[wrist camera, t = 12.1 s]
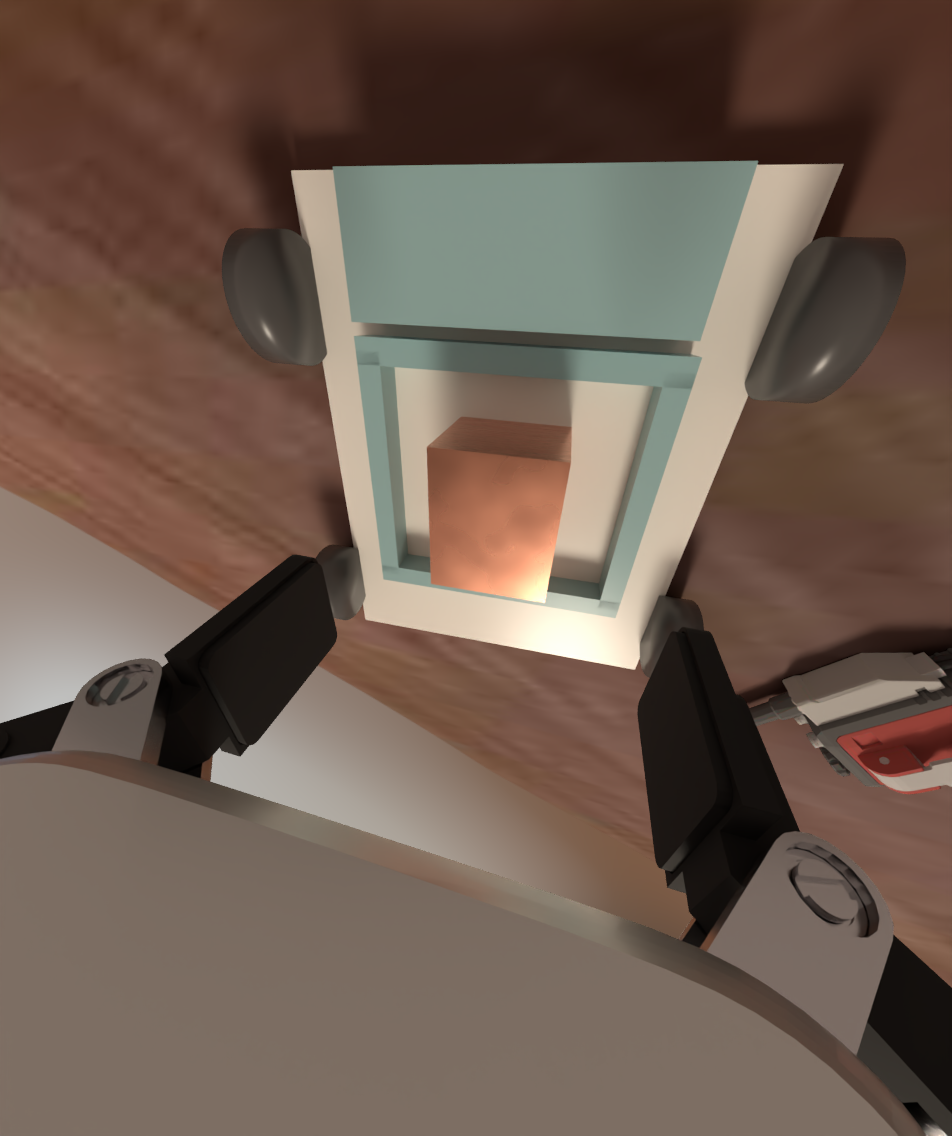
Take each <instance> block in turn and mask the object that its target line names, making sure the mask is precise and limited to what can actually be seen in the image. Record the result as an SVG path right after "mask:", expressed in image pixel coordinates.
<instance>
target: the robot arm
mask: <svg viewBox="0 0 952 1136" xmlns="http://www.w3.org/2000/svg"><path fill="white" fill-rule="evenodd" d="M336 639H337V631H336V626H335V622H334V617H333V613H332V608H331V604H330V599H329V595H328V591H327V586H326V582H325V577H324V573H323V569H322V566H321V565H320V564H318V562H317V560H316V559H315V558H312V557H307V556H301V555H292V556H290V557H289V558H287V559H286V560H285V561H284V562H282V563H281V564H280V565H278V566H277V567H276V568H275V569H273V570H272V571H271V572H270V573H268V574H267V575H266V576H264V577H263V578H262V579H261V580H259V581H258V582H257V583H255V584H254V585H253V586H252V587H250V588H249V589H248V590H246V591H245V592H244V593H243V594H241V595H240V596H239V597H237V598H236V599H235V600H234V601H232V602H231V603H230V604H229V605H227V606H226V607H225V608H223V609H222V610H221V611H220V612H218V613H217V614H216V615H214V616H213V617H212V618H211V619H209V620H208V621H207V622H205V623H204V624H203V625H202V626H200V627H199V628H198V629H196V630H195V631H194V632H193V633H192V634H190V635H189V636H188V637H186V638H185V639H184V640H183V641H181V642H180V643H179V644H177V645H176V646H175V647H174V648H172V649H171V650H170V651H168V652H167V653H166V654H165V657H166V658H167V660H168V663H167V664H166V665H165V666H163V667H161V665H160V664H159V663H158V662H157V661H155V660H152V659H135V660H130V661H126V662H123V663H120V664H117V665H114V666H112V667H110V668H108V669H106V670H104V671H103V672H101V673H99V674H98V675H96V676H95V677H93V678H92V679H91V680H89V681H88V682H87V683H86V684H85V685H84V686H83V687H82V689H81V690H80V691H79V693H78V694H77V696H76V698H75V700H74V701H71V702H68V703H65V704H61V705H58V706H55V707H52V708H48V709H45V710H42V711H39V712H36V713H32V714H29V715H26V716H23V717H20V718H16V719H13V720H10V721H7V722H3V723H0V1136H952V988H951V987H950V986H949V985H948V984H947V983H946V982H945V981H944V980H942V979H941V978H940V977H939V976H938V975H937V974H936V973H935V972H934V971H933V970H932V969H930V968H929V967H928V966H927V965H926V964H925V963H924V962H923V961H922V960H921V959H920V958H918V957H917V956H916V955H915V954H914V953H913V952H912V951H911V950H910V949H909V948H907V947H906V946H905V945H904V944H903V943H902V942H901V941H900V940H899V939H898V938H897V937H895V936H894V935H893V926H894V925H893V922H892V918H891V915H890V912H889V909H888V906H887V904H886V903H885V901H884V899H883V897H882V896H881V894H880V892H879V890H878V889H877V887H876V886H875V885H874V883H873V882H872V881H871V880H870V878H869V877H868V876H867V875H866V874H865V872H864V871H863V870H862V869H861V868H860V867H859V866H858V865H857V864H856V863H855V862H854V861H853V860H851V859H850V858H849V857H848V856H847V855H846V854H845V853H844V852H842V851H841V850H839V849H838V848H836V847H835V846H833V845H832V844H830V843H829V842H827V841H825V840H823V839H821V838H819V837H816V836H814V835H812V834H809V833H803V832H800V831H799V828H798V826H797V823H796V821H795V818H794V816H793V814H792V811H791V809H790V806H789V804H788V802H787V799H786V797H785V794H784V792H783V789H782V787H781V785H780V782H779V780H778V777H777V775H776V773H775V770H774V768H773V765H772V763H771V760H770V758H769V756H768V753H767V751H766V748H765V746H764V744H763V741H762V739H761V736H760V734H759V731H758V729H757V727H756V724H755V722H754V719H753V717H752V715H751V712H750V710H749V707H748V705H747V703H746V702H745V700H744V699H743V698H742V697H741V696H739V695H736V694H735V692H734V689H733V687H732V684H731V682H730V679H729V677H728V674H727V671H726V669H725V666H724V664H723V661H722V659H721V656H720V654H719V651H718V649H717V646H716V643H715V641H714V638H713V636H712V634H711V633H710V632H709V631H704V630H698V629H693V628H687V627H682V628H681V629H680V630H679V631H678V632H676V631H672V632H671V633H670V635H669V637H668V639H667V641H666V643H665V645H664V648H663V650H662V652H661V654H660V657H659V659H658V661H657V663H656V665H655V668H654V670H653V672H652V674H651V677H650V679H649V681H648V683H647V685H646V688H645V690H644V692H643V694H642V697H641V699H640V701H639V705H638V722H639V730H640V738H641V746H642V755H643V763H644V771H645V779H646V787H647V795H648V803H649V812H650V820H651V828H652V836H653V844H654V852H655V859H656V863H657V865H658V867H659V868H661V869H664V870H665V873H666V881H667V888H670V889H674V890H677V891H680V892H683V893H686V895H687V901H688V906H689V912H690V913H691V914H692V916H693V918H692V919H691V921H690V922H689V924H688V925H687V927H686V928H685V930H684V931H683V933H682V934H681V935H680V937H679V938H678V939H676V938H673V937H671V936H669V935H666V934H664V933H661V932H659V931H656V930H654V929H652V928H649V927H646V926H643V925H641V924H638V923H635V922H632V921H629V920H626V919H624V918H621V917H618V916H615V915H612V914H609V913H607V912H604V911H601V910H598V909H595V908H592V907H589V906H587V905H584V904H581V903H578V902H575V901H572V900H570V899H566V898H564V897H561V896H558V895H555V894H552V893H549V892H546V891H543V890H540V889H537V888H534V887H531V886H528V885H525V884H522V883H519V882H516V881H513V880H510V879H507V878H504V877H501V876H498V875H495V874H492V873H489V872H486V871H483V870H480V869H477V868H474V867H471V866H468V865H465V864H462V863H459V862H456V861H453V860H450V859H447V858H444V857H441V856H438V855H435V854H432V853H428V852H426V851H423V850H420V849H416V848H413V847H410V846H407V845H404V844H401V843H398V842H395V841H392V840H389V839H386V838H383V837H380V836H377V835H374V834H370V833H368V832H364V831H361V830H358V829H355V828H352V827H349V826H346V825H343V824H340V823H337V822H334V821H331V820H327V819H325V818H322V817H318V816H315V815H312V814H309V813H306V812H303V811H300V810H297V809H294V808H291V807H288V806H285V805H281V804H278V803H275V802H272V801H269V800H266V799H263V798H260V797H256V796H253V795H250V794H247V793H244V792H241V791H238V790H234V789H231V788H228V787H225V786H222V785H219V784H216V783H213V782H210V780H211V769H212V757H213V754H214V753H215V752H216V751H217V750H218V748H219V747H220V748H221V750H222V751H224V752H228V753H231V754H234V755H237V756H241V755H242V754H243V752H244V751H245V750H246V749H247V747H248V746H249V745H253V744H254V743H256V742H257V741H258V740H259V739H260V738H261V736H262V735H263V734H264V733H265V731H266V730H267V729H268V727H269V726H270V725H271V724H272V722H273V721H274V720H275V719H276V717H277V716H278V715H279V714H280V712H281V711H282V710H283V709H284V707H285V706H286V705H287V704H288V702H289V701H290V700H291V698H292V697H293V696H294V695H295V693H296V692H297V691H298V690H299V688H300V687H301V686H302V685H303V683H304V682H305V681H306V679H307V678H308V677H309V676H310V675H311V673H312V672H313V671H314V669H315V668H316V667H317V666H318V664H319V663H320V662H321V661H322V659H323V658H324V657H325V656H326V654H327V653H328V652H329V651H330V649H331V648H332V647H333V645H334V644H335V642H336Z"/></svg>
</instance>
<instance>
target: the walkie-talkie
mask: <svg viewBox="0 0 952 1136" xmlns="http://www.w3.org/2000/svg"><path fill="white" fill-rule="evenodd" d="M782 682H783V684H784V685H785V687H786V689H787V690H788V692H786V693H784V694H781V695H778V696H775V697H772V698H770V699H769V701H768V702H766V703H763V704H760V705H757V706H755V707H752V708H749V710H750V712H751V715H752V717H753V719H754V722H755V724H756V726H758V725H761V724H764V723H767V722H771V721H774V720H777V719H782V720H786V719H789V718H793V717H794V719H795V720H796V721H797V722H798V724H800V725H801V724H805V723H807V724H809V725H810V727H811V729H812V731H813V732H811V733H807V734H806V735H807V737H808V739H809V740H810V742H811V743H812V744H813V745H814V747H815V748H818V747H819V748H820V750H821V752H822V754H823V755H824V757H825V758H826V760H827V761H828V762H829V764H830V765H831V766H832V768H833V769H834V770H835V771H836V772H837V773H838V774H839V775H841V776H843V777H844V776H849V775H850V772H851V773H852V774H853V775H855V776H856V777H857V778H858V779H859V780H860V781H861V782H862V783H863V784H864V785H865V786H871V787H881V786H887V787H888V788H890V789H891V790H894V791H896V792H899V793H904V794H917V793H922V792H927V791H932V790H937V789H941V785H949V786H951V787H952V648H948V649H947V650H946V651H943V652H940V653H938V652H937V653H934V654H933V655H932V656H928V655H926V654H925V653H924V652H922V653H919V654H916V655H913V654H912V653H860V654H857V655H854V656H852V657H849V658H846V659H843V660H841V661H838V662H835V663H832V664H830V665H827V666H824V667H822V668H819V669H816V670H813V671H811V672H808V673H805V674H802V675H796V676H792V677H789V678H787V679H784V680H782Z"/></svg>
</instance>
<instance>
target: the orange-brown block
mask: <svg viewBox="0 0 952 1136" xmlns="http://www.w3.org/2000/svg"><path fill="white" fill-rule="evenodd" d="M571 443H572V427H566V426H556V425H545V424H535V423H524V422H514V421H503V420H493V419H482V418H472V417H460V418H459V419H458V420H457V421H456V422H455V423H453V424H452V425H451V426H450V427H449V428H448V429H447V430H445V431H444V432H443V433H442V434H441V435H440V436H439V437H437V438H436V439H435V440H434V441H433V442H432V443H431V444H429V445H428V446H427V474H428V506H429V538H430V570H431V584H434V585H440V586H446V587H452V588H458V589H464V590H470V591H476V592H482V593H488V594H494V595H500V596H506V597H512V598H518V599H524V600H530V601H536V602H542V603H545V599H546V593H547V588H548V583H549V578H550V572H551V567H552V562H553V556H554V551H555V546H556V540H557V535H558V530H559V525H560V519H561V514H562V509H563V503H564V498H565V493H566V487H567V482H568V477H569V471H570V466H571Z"/></svg>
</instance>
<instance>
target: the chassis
mask: <svg viewBox="0 0 952 1136" xmlns="http://www.w3.org/2000/svg"><path fill="white" fill-rule="evenodd" d="M757 164H758V161H704V162H629V163H554V164H479V165H403V166H333V170H291V175H292V181H293V187H294V193H295V199H296V205H297V211H298V217H299V223H300V229H301V235H302V237H301V236H300V235H298V234H297V233H296V232H294V231H292V230H289V229H260V228H244V229H239V230H237V231H235V232H234V233H233V234H232V235H231V236H230V237H229V239H228V241H227V243H226V245H225V248H224V252H223V258H222V279H223V286H224V291H225V296H226V300H227V303H228V306H229V309H230V312H231V314H232V317H233V319H234V321H235V323H236V326H237V328H238V329H239V331H240V333H241V334H242V336H243V337H244V339H245V340H246V342H247V343H248V344H249V346H250V347H251V348H252V349H253V350H254V351H255V352H256V353H257V354H258V355H260V356H261V357H262V358H264V359H266V360H268V361H270V362H274V363H283V364H296V365H309V366H312V365H317V364H319V363H320V362H322V361H323V366H324V372H325V378H326V384H327V390H328V396H329V402H330V408H331V414H332V420H333V426H334V432H335V438H336V444H337V450H338V456H339V462H340V468H341V474H342V480H343V486H344V492H345V498H346V504H347V510H348V516H349V522H350V528H351V534H352V540H353V546H354V548H352V547H345V546H339V545H329V546H327V547H325V548H324V549H322V551H321V552H320V553H319V554H318V555H317V557H316V558H315V559H316V560H317V562H318V564H320V565H321V566H322V569H323V573H324V577H325V582H326V586H327V591H328V595H329V599H330V604H331V608H332V613H333V617H334V618H336V619H342V620H349V619H351V618H352V617H354V616H355V615H356V614H357V612H358V611H359V610H360V608H361V606H362V604H363V606H364V612H365V618H366V620H371V621H376V622H381V623H387V624H392V625H397V626H403V627H408V628H414V629H419V630H424V631H430V632H435V633H440V634H446V635H451V636H457V637H462V638H467V639H473V640H478V641H483V642H489V643H494V644H499V645H505V646H510V647H516V648H521V649H526V650H532V651H537V652H542V653H548V654H553V655H559V656H564V657H569V658H575V659H580V660H585V661H591V662H596V663H602V664H607V665H612V666H618V667H623V668H628V669H634V670H635V668H636V665H637V663H638V661H639V658H640V661H641V666H642V670H643V672H644V674H645V675H646V676H647V677H651V674H652V672H653V670H654V668H655V665H656V663H657V661H658V659H659V657H660V654H661V652H662V650H663V648H664V645H665V643H666V641H667V639H668V637H669V635H670V633H671V632H672V631H676V632H678V631H679V630H680V629H681V628H682V627H687V628H693V629H698V630H704V627H703V619H702V615H701V612H700V609H699V607H698V605H697V604H696V603H695V602H694V601H692V600H686V599H680V598H674V597H667V596H665V595H666V593H667V590H668V588H669V586H670V583H671V581H672V578H673V576H674V574H675V571H676V569H677V566H678V564H679V561H680V559H681V557H682V554H683V552H684V549H685V547H686V545H687V542H688V540H689V537H690V535H691V532H692V530H693V528H694V525H695V523H696V520H697V518H698V516H699V513H700V511H701V508H702V506H703V503H704V501H705V499H706V496H707V494H708V491H709V489H710V487H711V484H712V482H713V479H714V477H715V474H716V472H717V470H718V467H719V465H720V462H721V460H722V458H723V455H724V453H725V450H726V448H727V445H728V443H729V441H730V438H731V436H732V433H733V431H734V429H735V426H736V424H737V421H738V419H739V416H740V414H741V412H742V409H743V407H744V404H745V402H746V400H747V397H748V395H749V397H751V398H752V399H755V400H767V401H780V402H794V403H814V402H817V401H820V400H822V399H824V398H825V397H827V396H829V395H830V394H832V393H833V392H834V391H836V390H837V389H838V388H839V387H841V386H842V385H843V384H844V383H845V382H846V381H847V380H848V379H849V378H850V377H851V376H852V375H853V374H854V373H855V371H856V370H857V369H858V368H859V367H860V366H861V364H862V363H863V362H864V360H865V359H866V358H867V356H868V355H869V354H870V352H871V351H872V349H873V348H874V346H875V345H876V343H877V342H878V340H879V338H880V336H881V335H882V333H883V331H884V329H885V328H886V326H887V324H888V322H889V320H890V318H891V315H892V313H893V311H894V309H895V306H896V304H897V301H898V298H899V295H900V292H901V288H902V285H903V281H904V275H905V265H906V259H905V252H904V249H903V246H902V245H901V244H900V242H899V241H897V240H895V239H893V238H865V237H822V238H819V239H816V240H814V241H813V242H812V240H813V238H814V235H815V233H816V230H817V228H818V226H819V223H820V221H821V218H822V216H823V213H824V211H825V209H826V206H827V204H828V201H829V199H830V197H831V194H832V192H833V189H834V187H835V184H836V182H837V180H838V177H839V175H840V172H841V170H842V168H843V165H844V164H793V165H757ZM811 242H812V243H811ZM460 417H472V418H482V419H493V420H503V421H514V422H524V423H535V424H545V425H556V426H566V427H572V443H571V466H570V471H569V477H568V482H567V487H566V493H565V498H564V503H563V509H562V514H561V519H560V525H559V530H558V535H557V540H556V546H555V551H554V556H553V562H552V567H551V572H550V578H549V583H548V588H547V593H546V599H545V603H542V602H536V601H530V600H524V599H518V598H512V597H506V596H500V595H494V594H488V593H482V592H476V591H470V590H464V589H458V588H452V587H446V586H440V585H434V584H431V570H430V538H429V506H428V474H427V446H428V445H429V444H431V443H432V442H433V441H434V440H435V439H436V438H437V437H439V436H440V435H441V434H442V433H443V432H444V431H445V430H447V429H448V428H449V427H450V426H451V425H452V424H453V423H455V422H456V421H457V420H458V419H459V418H460Z"/></svg>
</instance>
